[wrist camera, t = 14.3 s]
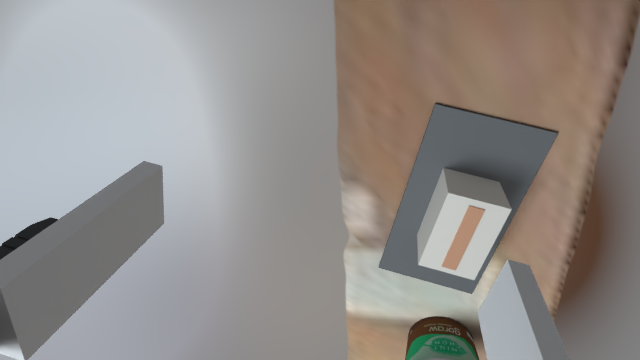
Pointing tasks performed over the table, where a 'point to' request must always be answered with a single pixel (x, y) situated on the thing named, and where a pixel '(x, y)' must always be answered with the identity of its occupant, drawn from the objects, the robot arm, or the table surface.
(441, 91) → the table surface
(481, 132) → the mat
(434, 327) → the food container
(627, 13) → the table surface
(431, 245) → the white rectangular block
